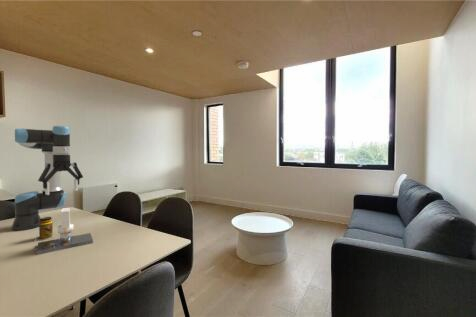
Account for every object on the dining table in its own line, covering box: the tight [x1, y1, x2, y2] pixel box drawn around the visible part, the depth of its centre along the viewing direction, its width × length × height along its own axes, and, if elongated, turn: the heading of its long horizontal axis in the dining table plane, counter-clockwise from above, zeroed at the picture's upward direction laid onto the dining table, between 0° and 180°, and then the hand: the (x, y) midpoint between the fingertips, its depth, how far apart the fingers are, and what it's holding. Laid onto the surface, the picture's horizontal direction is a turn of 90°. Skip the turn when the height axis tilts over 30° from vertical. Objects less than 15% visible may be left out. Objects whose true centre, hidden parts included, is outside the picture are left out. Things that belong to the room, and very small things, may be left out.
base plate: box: [35, 231, 94, 255], centre depth 126 cm, size 14×24×7 cm, turn 128°
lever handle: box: [57, 207, 74, 234], centre depth 125 cm, size 10×7×12 cm
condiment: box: [33, 216, 55, 242], centre depth 135 cm, size 7×8×12 cm
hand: (62, 192), depth 126 cm, fingers open, 13 cm apart
